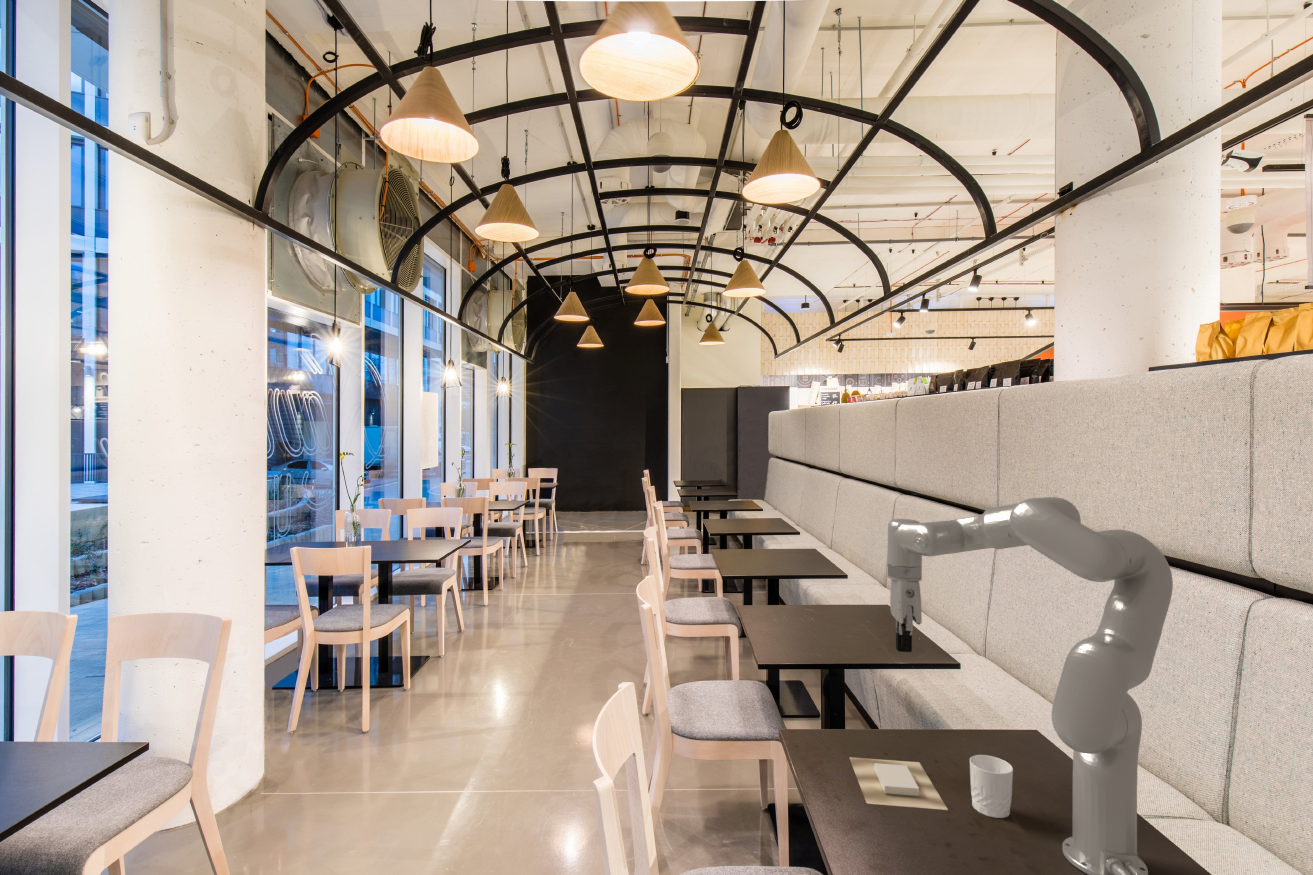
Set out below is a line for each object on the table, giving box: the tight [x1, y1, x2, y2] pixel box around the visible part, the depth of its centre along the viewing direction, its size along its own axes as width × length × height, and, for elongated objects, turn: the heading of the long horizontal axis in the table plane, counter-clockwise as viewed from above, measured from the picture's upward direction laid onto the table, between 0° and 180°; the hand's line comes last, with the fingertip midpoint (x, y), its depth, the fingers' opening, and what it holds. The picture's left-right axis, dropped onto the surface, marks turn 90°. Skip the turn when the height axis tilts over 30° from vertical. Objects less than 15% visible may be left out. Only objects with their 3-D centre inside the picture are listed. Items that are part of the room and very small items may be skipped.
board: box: [849, 756, 949, 811], centre depth 140 cm, size 20×16×1 cm
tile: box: [874, 763, 919, 797], centre depth 139 cm, size 2×7×10 cm
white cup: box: [969, 754, 1014, 819], centre depth 130 cm, size 8×8×10 cm
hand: (903, 650), depth 149 cm, fingers closed
